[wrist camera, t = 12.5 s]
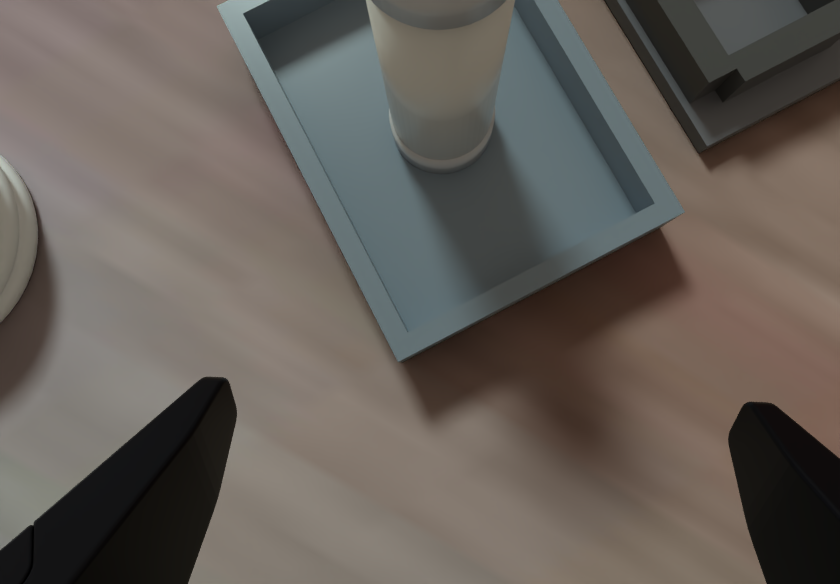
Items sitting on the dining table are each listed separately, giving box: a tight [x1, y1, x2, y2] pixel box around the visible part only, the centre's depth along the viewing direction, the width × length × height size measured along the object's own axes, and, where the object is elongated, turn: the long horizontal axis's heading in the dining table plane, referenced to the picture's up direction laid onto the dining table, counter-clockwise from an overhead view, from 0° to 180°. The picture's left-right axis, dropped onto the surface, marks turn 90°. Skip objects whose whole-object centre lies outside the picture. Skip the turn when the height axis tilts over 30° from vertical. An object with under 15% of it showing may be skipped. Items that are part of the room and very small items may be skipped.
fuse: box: [366, 0, 515, 174], centre depth 19 cm, size 4×4×12 cm
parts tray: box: [217, 0, 685, 362], centre depth 24 cm, size 16×12×2 cm
